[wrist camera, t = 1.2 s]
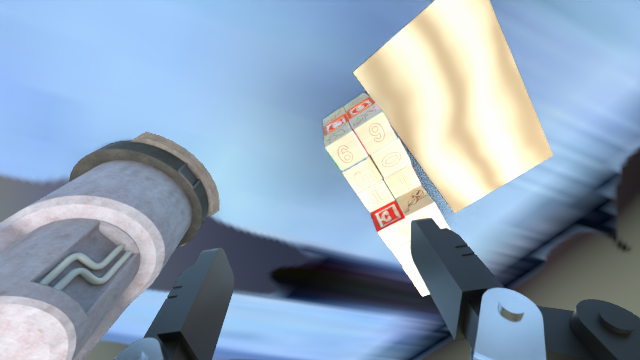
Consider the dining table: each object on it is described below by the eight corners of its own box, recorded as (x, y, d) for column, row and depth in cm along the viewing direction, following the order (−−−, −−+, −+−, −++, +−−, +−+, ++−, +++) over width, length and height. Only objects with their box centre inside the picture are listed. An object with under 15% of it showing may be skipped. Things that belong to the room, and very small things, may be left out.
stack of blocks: (320, 119, 31) (325, 160, 20) (364, 90, 30) (396, 118, 19) (392, 230, 40) (423, 299, 29) (429, 212, 39) (475, 278, 28)
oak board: (472, -34, 24) (475, -35, 24) (550, 154, 34) (553, 155, 34) (352, 72, 28) (353, 72, 28) (453, 211, 39) (454, 213, 38)
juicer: (158, 111, 30) (-222, 287, 9) (240, 207, 37) (143, 435, 16) (1, 212, 36) (-452, 461, 15) (97, 278, 43) (-114, 512, 22)
